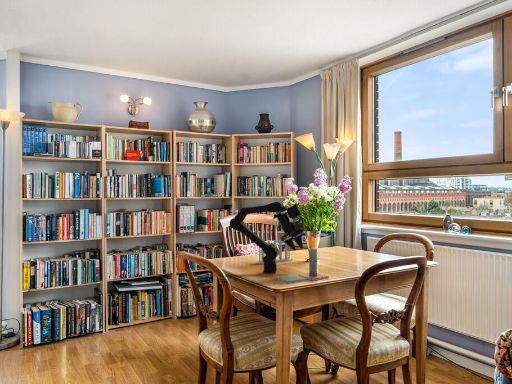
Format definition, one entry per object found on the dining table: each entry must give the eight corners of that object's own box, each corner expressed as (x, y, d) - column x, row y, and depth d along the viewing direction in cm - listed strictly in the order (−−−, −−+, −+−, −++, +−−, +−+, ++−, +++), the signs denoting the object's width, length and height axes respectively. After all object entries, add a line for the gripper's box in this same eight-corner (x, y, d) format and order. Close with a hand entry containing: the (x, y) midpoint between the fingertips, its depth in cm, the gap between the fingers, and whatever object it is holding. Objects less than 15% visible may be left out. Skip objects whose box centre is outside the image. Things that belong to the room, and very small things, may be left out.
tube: (308, 275, 203) (308, 247, 202) (310, 274, 206) (310, 246, 206) (316, 276, 201) (316, 248, 201) (317, 274, 205) (317, 247, 205)
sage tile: (288, 283, 191) (288, 281, 191) (275, 278, 200) (275, 276, 200) (306, 280, 197) (306, 278, 197) (292, 276, 206) (292, 274, 206)
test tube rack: (288, 259, 255) (288, 238, 255) (292, 260, 251) (292, 239, 251) (255, 263, 242) (255, 241, 242) (259, 264, 238) (259, 242, 238)
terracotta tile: (312, 280, 196) (312, 278, 196) (298, 276, 206) (298, 274, 206) (328, 278, 202) (328, 276, 202) (314, 274, 211) (314, 272, 211)
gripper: (304, 213, 208) (318, 240, 206) (290, 220, 225) (303, 244, 224) (287, 222, 203) (301, 249, 202) (274, 228, 220) (287, 253, 219)
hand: (298, 249), depth 212 cm, fingers open, 9 cm apart
